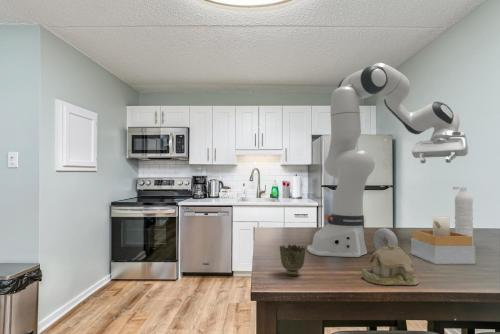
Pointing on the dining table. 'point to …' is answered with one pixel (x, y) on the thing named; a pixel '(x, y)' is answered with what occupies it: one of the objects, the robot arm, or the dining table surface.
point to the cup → (292, 258)
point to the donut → (387, 234)
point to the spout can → (441, 226)
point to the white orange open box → (443, 247)
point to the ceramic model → (390, 267)
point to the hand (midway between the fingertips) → (434, 161)
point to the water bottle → (463, 212)
